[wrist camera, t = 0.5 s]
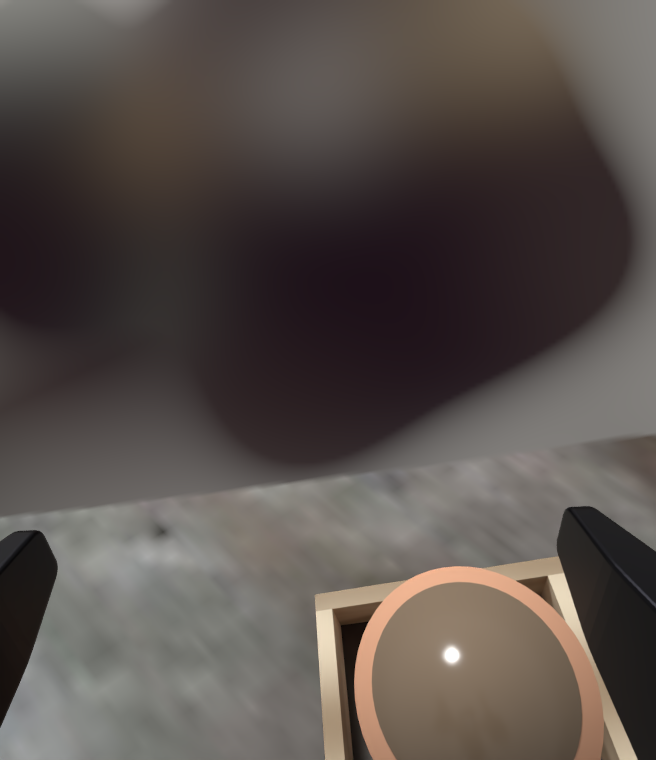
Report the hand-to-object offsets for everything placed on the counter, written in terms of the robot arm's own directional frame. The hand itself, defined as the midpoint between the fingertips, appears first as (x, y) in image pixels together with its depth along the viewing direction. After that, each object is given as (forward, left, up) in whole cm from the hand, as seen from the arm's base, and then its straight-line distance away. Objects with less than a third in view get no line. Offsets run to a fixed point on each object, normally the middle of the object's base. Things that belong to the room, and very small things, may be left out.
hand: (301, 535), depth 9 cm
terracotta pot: (-1, -3, -16) cm, 16 cm away
